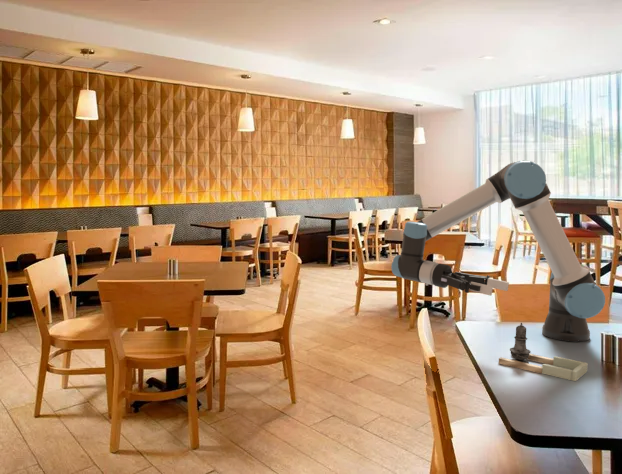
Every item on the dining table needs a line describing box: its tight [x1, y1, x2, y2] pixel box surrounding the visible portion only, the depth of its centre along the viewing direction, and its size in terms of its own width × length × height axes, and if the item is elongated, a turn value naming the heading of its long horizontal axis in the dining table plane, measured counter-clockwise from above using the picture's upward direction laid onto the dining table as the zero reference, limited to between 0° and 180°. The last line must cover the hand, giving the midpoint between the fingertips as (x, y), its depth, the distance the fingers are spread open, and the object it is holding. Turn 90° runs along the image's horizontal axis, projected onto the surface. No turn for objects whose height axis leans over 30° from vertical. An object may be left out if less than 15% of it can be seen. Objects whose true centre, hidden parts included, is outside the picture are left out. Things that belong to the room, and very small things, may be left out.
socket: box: [541, 355, 589, 382], centre depth 155 cm, size 9×10×2 cm
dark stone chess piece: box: [509, 322, 532, 364], centre depth 163 cm, size 6×6×12 cm
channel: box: [498, 353, 554, 375], centre depth 162 cm, size 12×11×2 cm
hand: (500, 288), depth 167 cm, fingers open, 13 cm apart
